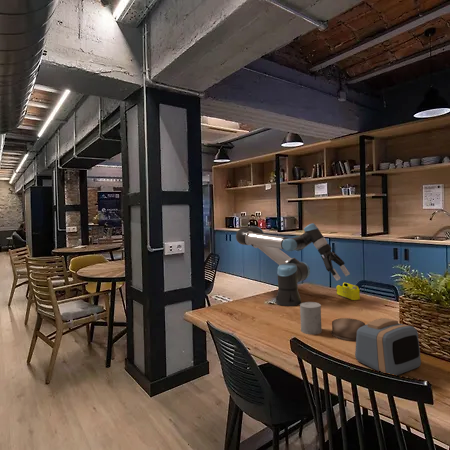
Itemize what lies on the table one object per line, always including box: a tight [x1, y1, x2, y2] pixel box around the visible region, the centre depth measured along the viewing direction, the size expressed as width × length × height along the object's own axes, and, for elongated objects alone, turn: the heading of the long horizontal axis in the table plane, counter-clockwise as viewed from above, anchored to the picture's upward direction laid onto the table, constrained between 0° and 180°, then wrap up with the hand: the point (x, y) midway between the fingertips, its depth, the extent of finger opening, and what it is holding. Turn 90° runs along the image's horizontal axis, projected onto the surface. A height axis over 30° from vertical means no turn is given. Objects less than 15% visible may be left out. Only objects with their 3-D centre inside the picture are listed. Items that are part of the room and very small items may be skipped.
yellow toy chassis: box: [335, 281, 361, 301], centre depth 206 cm, size 16×6×8 cm, turn 16°
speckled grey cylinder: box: [299, 301, 323, 335], centre depth 153 cm, size 10×10×12 cm
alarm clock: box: [354, 317, 422, 376], centre depth 118 cm, size 16×16×16 cm
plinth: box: [330, 317, 366, 342], centre depth 147 cm, size 15×15×5 cm
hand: (343, 277), depth 191 cm, fingers open, 13 cm apart
